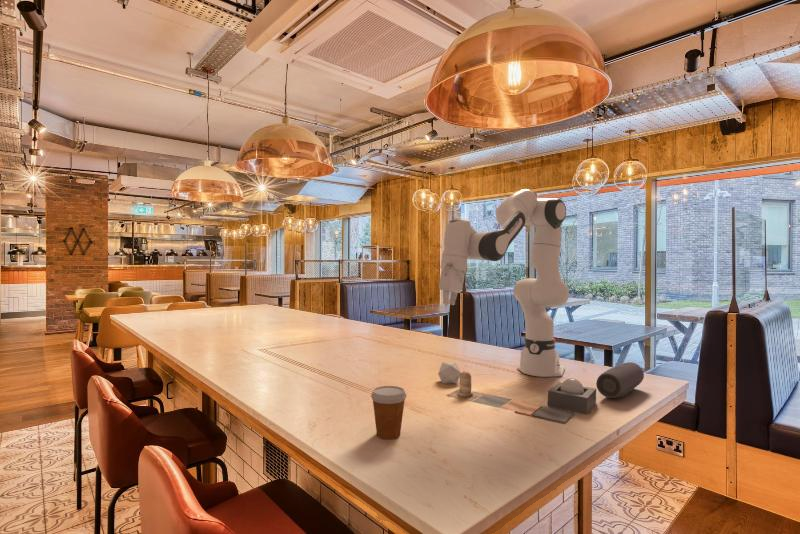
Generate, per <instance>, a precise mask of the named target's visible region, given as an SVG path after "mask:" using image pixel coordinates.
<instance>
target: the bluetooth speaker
mask: <svg viewBox="0 0 800 534" xmlns="http://www.w3.org/2000/svg"><path fill="white" fill-rule="evenodd" d="M644 379H645V374H644V371H643V368H642V367H641V366H640V365H639V364H638V363H635V362H624V363H620V364H618V365H616V366H613V367H610V368H609V369H607V370H606V371H604V372H602V373H601V374H600V375H598V377H597V379H596V390H598V393H599V394H601V395H602V396H604V397H605V398H609V399H614V398H615V399H616V397H621V396H623V395H625V394H627V393H628V392H629V393H630V392H632V391H634V390H635V388H637V387H638V386H639V385H640V384H641V383H642V382H643V380H644ZM629 393H628V394H629ZM628 394H627V395H628ZM625 396H626V395H625ZM623 397H624V396H623ZM621 398H622V397H621Z"/></svg>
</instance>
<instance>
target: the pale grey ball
mask: <svg viewBox="0 0 800 534" xmlns="http://www.w3.org/2000/svg"><path fill="white" fill-rule="evenodd" d="M561 383H562V386H561V389H560V391H562V392H568V393H573V394H579V395H583V394H584V389H583V386H584V385H583V384H582V382H581V381H580V380H579V379H577V378H573V377H569V378H566V379H565V380H563V382H561Z"/></svg>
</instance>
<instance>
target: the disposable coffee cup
mask: <svg viewBox="0 0 800 534" xmlns="http://www.w3.org/2000/svg"><path fill="white" fill-rule="evenodd" d="M370 397H371V399H372V404H373V412H374V421H375V423H374V424H375V431H376V436H377V437H378V438H379V439H381V440H394V439H398V438H399V437H400V436H401V430H402V423H403V416H404V409H405V400H406V399H407V393H406V390H405V389H404V388H403V387H400V386H397V385H382V386H377V387H375V388H373V389H372V393H371V394H370Z"/></svg>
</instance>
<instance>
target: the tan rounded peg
mask: <svg viewBox="0 0 800 534" xmlns="http://www.w3.org/2000/svg"><path fill="white" fill-rule="evenodd" d="M459 389H460V390H458V389H457V390H458V395H459V396H462V397H471V396H473V391H474V390H472V375H471V373H470V372H468V371H466V370H463V371H461V374H460V377H459Z"/></svg>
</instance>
